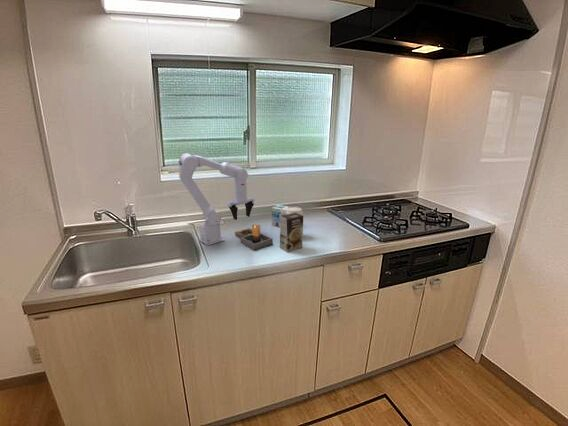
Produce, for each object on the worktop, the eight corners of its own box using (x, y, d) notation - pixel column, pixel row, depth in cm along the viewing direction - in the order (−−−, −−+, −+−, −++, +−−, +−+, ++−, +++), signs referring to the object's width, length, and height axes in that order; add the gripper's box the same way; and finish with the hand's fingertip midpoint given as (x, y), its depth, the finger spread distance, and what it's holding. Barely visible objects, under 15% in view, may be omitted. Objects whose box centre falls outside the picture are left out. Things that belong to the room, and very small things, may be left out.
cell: (255, 245, 150) (255, 226, 147) (250, 242, 153) (250, 224, 150) (262, 242, 153) (262, 225, 150) (257, 240, 156) (257, 222, 153)
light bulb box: (271, 225, 177) (271, 207, 173) (277, 222, 182) (277, 204, 179) (288, 229, 172) (288, 210, 169) (293, 225, 178) (294, 207, 174)
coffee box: (287, 252, 144) (288, 219, 139) (279, 247, 149) (279, 215, 144) (302, 247, 149) (304, 215, 144) (294, 243, 154) (295, 211, 149)
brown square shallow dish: (244, 240, 156) (244, 236, 156) (235, 235, 163) (235, 231, 162) (259, 236, 162) (259, 232, 161) (249, 231, 168) (249, 227, 167)
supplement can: (292, 232, 167) (293, 205, 163) (305, 236, 162) (306, 208, 158) (282, 237, 161) (283, 209, 157) (295, 241, 156) (296, 212, 152)
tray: (253, 250, 146) (253, 244, 145) (240, 243, 154) (240, 237, 153) (272, 244, 153) (272, 238, 152) (259, 237, 160) (258, 232, 160)
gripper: (232, 195, 149) (233, 222, 153) (257, 191, 158) (257, 216, 162) (224, 192, 154) (226, 219, 158) (249, 188, 163) (250, 213, 167)
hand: (241, 217), depth 161 cm, fingers open, 7 cm apart
